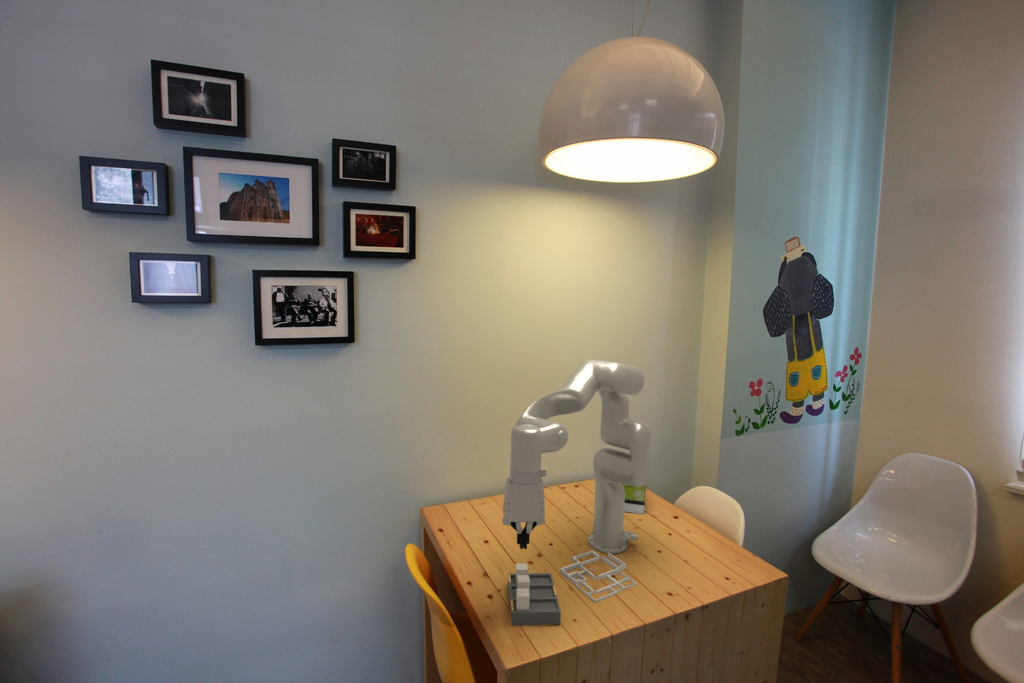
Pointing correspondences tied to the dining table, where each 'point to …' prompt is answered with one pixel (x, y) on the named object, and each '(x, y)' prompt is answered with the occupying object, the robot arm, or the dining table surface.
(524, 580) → the white block
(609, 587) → the floor plan model
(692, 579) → the dining table surface
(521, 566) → the white rectangular block
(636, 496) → the tea box
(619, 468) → the robot arm
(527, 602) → the tab
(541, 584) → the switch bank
